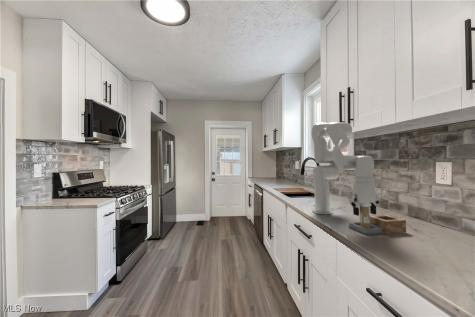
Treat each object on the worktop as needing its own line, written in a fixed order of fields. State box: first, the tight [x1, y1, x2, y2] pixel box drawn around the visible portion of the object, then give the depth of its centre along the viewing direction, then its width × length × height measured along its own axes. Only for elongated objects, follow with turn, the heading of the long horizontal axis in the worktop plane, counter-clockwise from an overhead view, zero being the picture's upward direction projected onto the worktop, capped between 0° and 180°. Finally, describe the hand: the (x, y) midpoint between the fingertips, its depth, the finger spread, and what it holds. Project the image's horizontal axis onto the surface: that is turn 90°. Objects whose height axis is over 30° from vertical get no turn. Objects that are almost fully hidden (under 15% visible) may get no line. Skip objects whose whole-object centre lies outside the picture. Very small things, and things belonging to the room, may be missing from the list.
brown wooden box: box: [370, 214, 407, 235], centre depth 110 cm, size 11×11×6 cm
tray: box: [348, 221, 384, 236], centre depth 110 cm, size 12×9×2 cm
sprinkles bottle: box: [358, 203, 371, 229], centre depth 110 cm, size 5×5×13 cm
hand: (364, 214), depth 110 cm, fingers open, 9 cm apart
